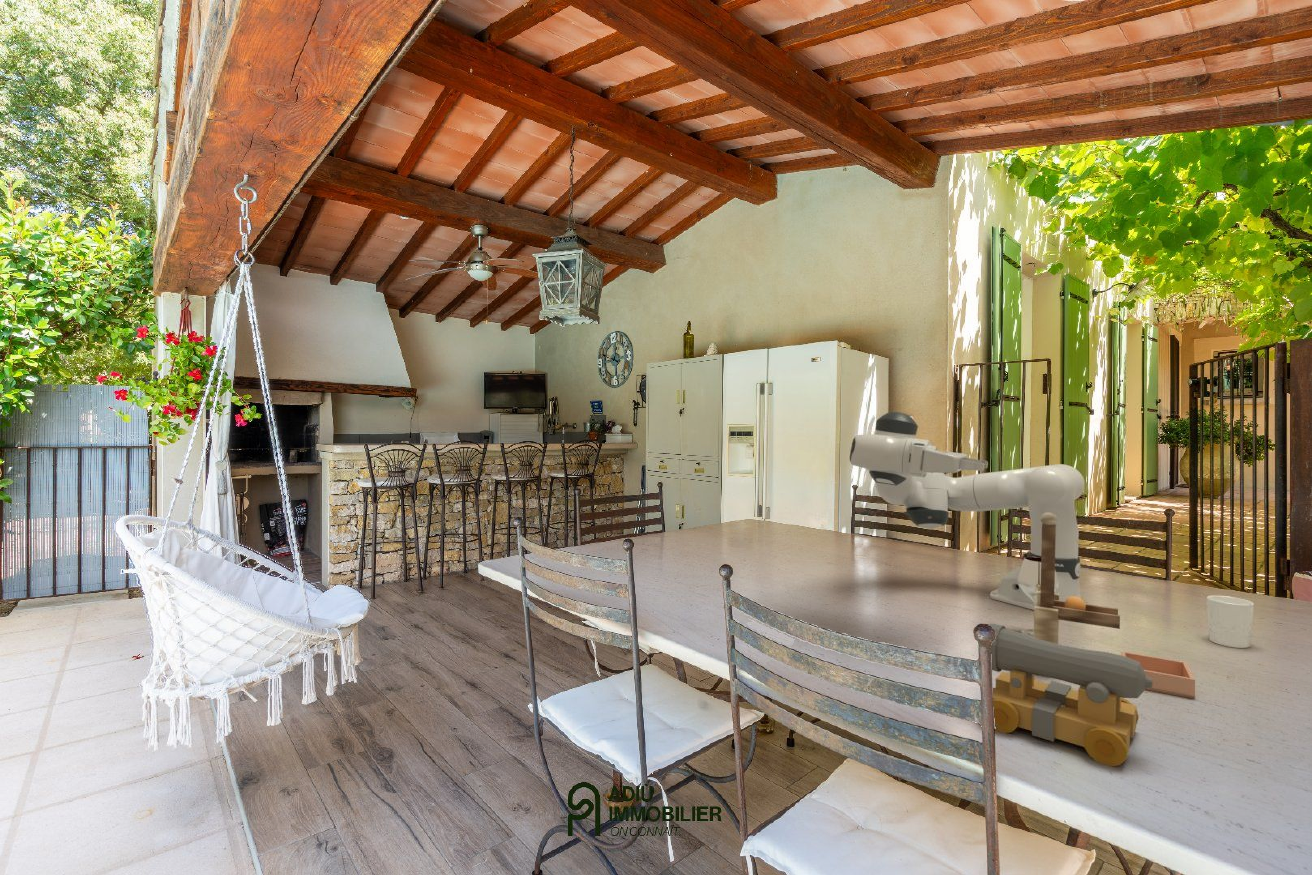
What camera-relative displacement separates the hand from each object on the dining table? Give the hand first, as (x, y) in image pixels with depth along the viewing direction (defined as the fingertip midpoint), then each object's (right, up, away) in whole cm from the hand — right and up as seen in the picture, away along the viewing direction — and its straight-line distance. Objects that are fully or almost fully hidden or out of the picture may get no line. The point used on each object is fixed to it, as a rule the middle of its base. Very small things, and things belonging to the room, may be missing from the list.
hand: (985, 466), depth 137 cm
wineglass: (+17, -41, +8) cm, 45 cm away
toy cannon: (-7, -42, -37) cm, 56 cm away
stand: (+8, -41, -8) cm, 42 cm away
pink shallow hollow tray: (+23, -41, -18) cm, 51 cm away
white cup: (+58, -41, +4) cm, 71 cm away
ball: (+12, -28, -11) cm, 33 cm away
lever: (+13, -31, -11) cm, 35 cm away
